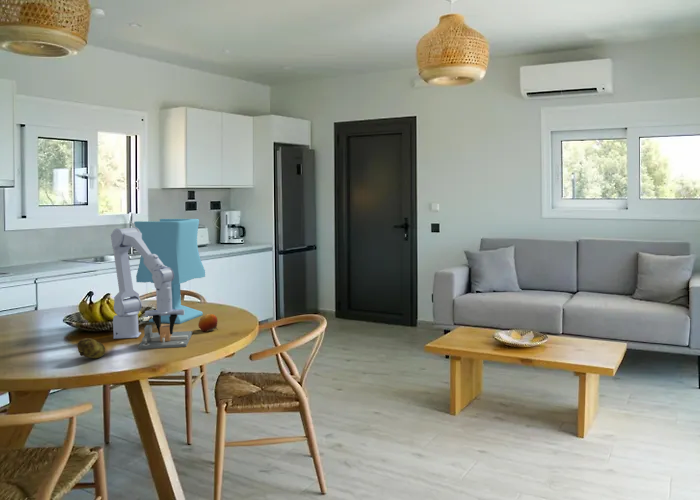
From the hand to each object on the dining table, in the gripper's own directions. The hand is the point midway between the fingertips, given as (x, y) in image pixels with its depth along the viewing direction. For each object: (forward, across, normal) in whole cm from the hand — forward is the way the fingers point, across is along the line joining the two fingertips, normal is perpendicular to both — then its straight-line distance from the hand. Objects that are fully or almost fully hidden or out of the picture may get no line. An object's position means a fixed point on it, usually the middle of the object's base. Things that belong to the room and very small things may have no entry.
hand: (165, 334), depth 255 cm
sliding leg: (+2, 0, -2) cm, 3 cm away
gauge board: (+3, 0, +3) cm, 5 cm away
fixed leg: (+2, -7, -2) cm, 7 cm away
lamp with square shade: (+4, -4, +47) cm, 47 cm away
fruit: (+4, +14, +19) cm, 24 cm away
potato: (+4, -22, -19) cm, 30 cm away
